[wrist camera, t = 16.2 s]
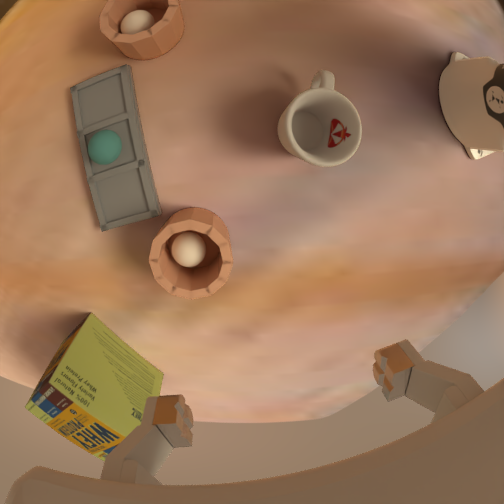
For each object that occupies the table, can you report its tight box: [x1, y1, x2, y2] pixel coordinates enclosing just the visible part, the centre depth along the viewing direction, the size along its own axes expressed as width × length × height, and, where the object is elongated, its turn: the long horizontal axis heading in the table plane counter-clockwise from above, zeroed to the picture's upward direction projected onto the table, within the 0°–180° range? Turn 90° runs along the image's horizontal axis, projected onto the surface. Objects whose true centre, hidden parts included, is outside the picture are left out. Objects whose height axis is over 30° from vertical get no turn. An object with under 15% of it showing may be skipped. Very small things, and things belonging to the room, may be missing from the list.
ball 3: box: [172, 232, 206, 267], centre depth 33 cm, size 4×4×4 cm
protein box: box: [25, 313, 164, 461], centre depth 33 cm, size 10×15×16 cm
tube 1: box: [99, 0, 184, 60], centre depth 22 cm, size 9×9×7 cm
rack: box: [70, 64, 162, 232], centre depth 29 cm, size 19×8×2 cm, turn 11°
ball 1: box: [88, 130, 122, 165], centre depth 27 cm, size 4×4×4 cm
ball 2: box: [121, 10, 154, 35], centre depth 23 cm, size 4×4×4 cm
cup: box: [277, 70, 362, 167], centre depth 28 cm, size 11×8×8 cm
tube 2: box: [149, 207, 233, 299], centre depth 32 cm, size 9×9×7 cm
